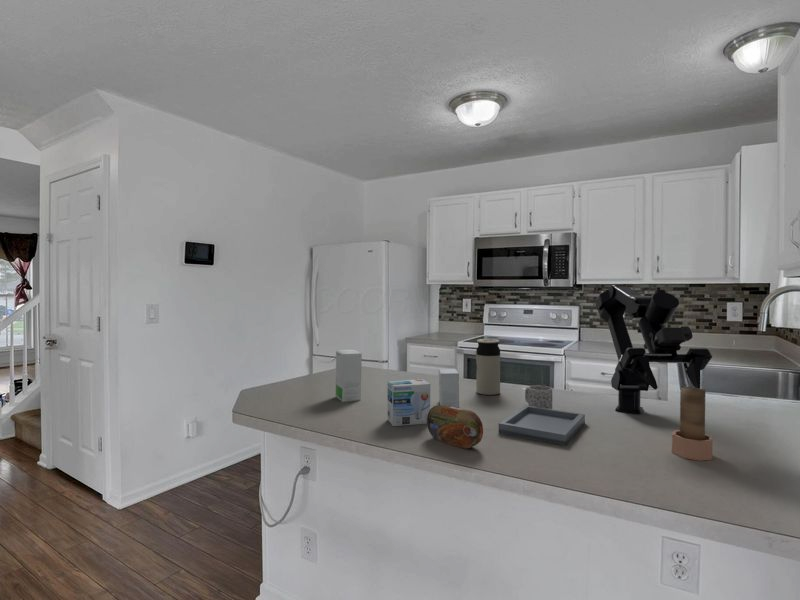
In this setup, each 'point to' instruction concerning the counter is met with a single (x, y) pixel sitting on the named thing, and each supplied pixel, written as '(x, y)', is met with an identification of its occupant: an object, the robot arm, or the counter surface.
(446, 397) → the small box
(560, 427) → the slate tray
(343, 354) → the skincare box
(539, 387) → the mug
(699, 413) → the walnut dowel
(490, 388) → the travel mug
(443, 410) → the tin
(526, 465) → the counter surface
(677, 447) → the terracotta cup
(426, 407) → the light bulb box
